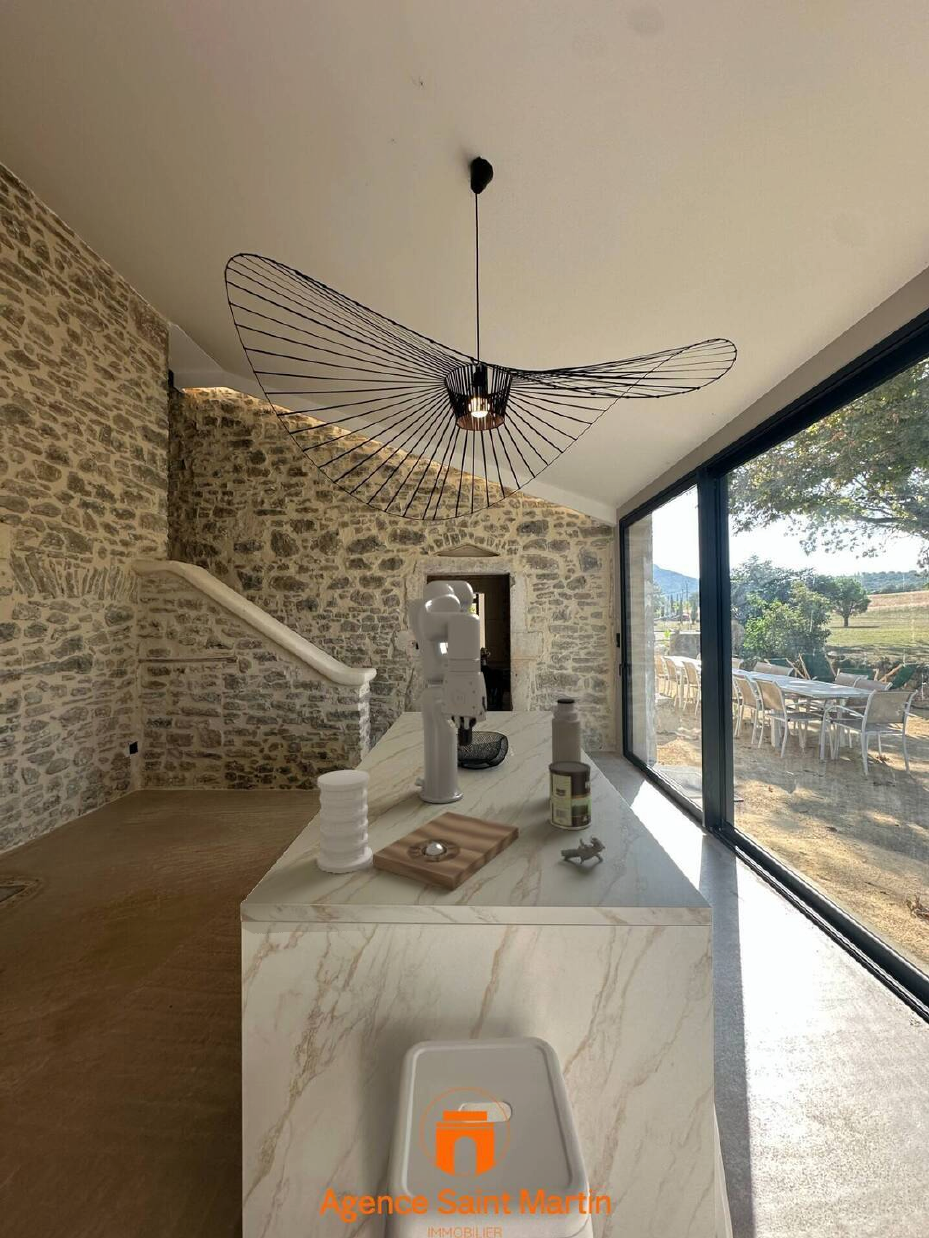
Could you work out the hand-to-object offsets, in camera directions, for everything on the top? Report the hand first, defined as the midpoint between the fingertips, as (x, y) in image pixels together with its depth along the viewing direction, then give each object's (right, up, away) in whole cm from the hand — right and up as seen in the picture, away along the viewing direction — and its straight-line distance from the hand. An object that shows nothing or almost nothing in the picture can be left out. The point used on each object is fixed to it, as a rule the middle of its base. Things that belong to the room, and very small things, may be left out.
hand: (465, 744), depth 126 cm
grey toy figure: (+24, -22, -14) cm, 36 cm away
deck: (-3, -22, -6) cm, 23 cm away
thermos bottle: (+29, -22, +27) cm, 45 cm away
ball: (-6, -20, -11) cm, 24 cm away
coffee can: (+26, -22, +9) cm, 35 cm away
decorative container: (-26, -23, -10) cm, 36 cm away
